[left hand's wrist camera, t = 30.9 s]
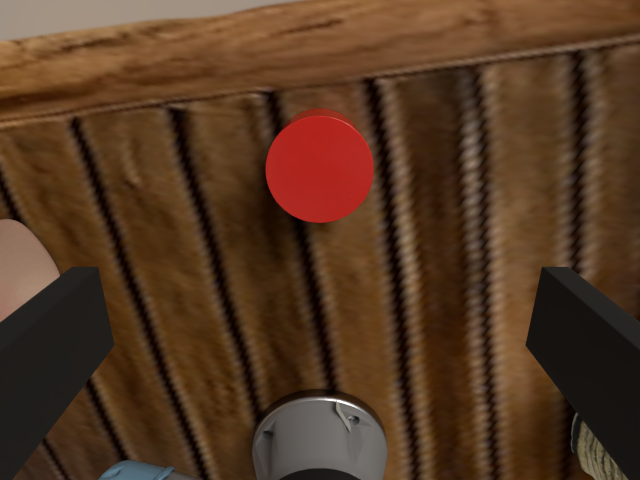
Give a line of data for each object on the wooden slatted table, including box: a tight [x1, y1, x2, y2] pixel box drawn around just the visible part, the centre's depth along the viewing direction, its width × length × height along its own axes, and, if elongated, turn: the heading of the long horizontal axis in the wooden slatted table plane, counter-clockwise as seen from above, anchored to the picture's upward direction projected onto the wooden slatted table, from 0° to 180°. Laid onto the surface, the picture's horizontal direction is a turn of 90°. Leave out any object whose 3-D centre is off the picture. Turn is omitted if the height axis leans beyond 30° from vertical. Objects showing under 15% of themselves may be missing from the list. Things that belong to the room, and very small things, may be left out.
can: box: [266, 108, 374, 223], centre depth 34 cm, size 8×8×7 cm
